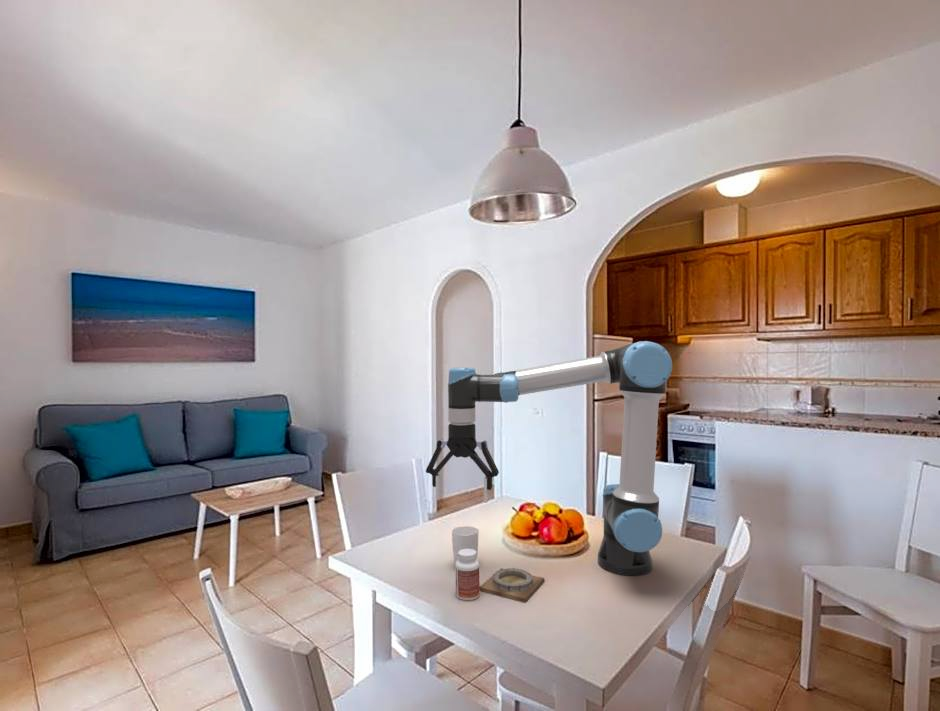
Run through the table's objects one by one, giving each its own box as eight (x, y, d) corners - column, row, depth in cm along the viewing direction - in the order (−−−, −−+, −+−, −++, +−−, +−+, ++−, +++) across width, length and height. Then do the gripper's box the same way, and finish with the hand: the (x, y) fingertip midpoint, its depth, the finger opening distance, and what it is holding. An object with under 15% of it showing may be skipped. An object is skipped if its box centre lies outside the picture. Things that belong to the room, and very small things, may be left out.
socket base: (544, 581, 132) (544, 572, 132) (525, 602, 121) (525, 592, 121) (501, 571, 138) (501, 562, 138) (479, 590, 127) (479, 581, 127)
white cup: (459, 557, 149) (459, 524, 149) (483, 561, 145) (482, 528, 145) (447, 567, 142) (447, 532, 142) (471, 572, 138) (471, 536, 138)
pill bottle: (484, 596, 124) (484, 553, 124) (464, 603, 120) (464, 558, 121) (470, 587, 129) (470, 545, 129) (451, 594, 126) (450, 550, 126)
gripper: (508, 422, 136) (508, 498, 136) (423, 420, 141) (423, 493, 141) (504, 426, 129) (504, 506, 128) (414, 423, 134) (414, 501, 134)
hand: (462, 500), depth 135 cm, fingers open, 13 cm apart
